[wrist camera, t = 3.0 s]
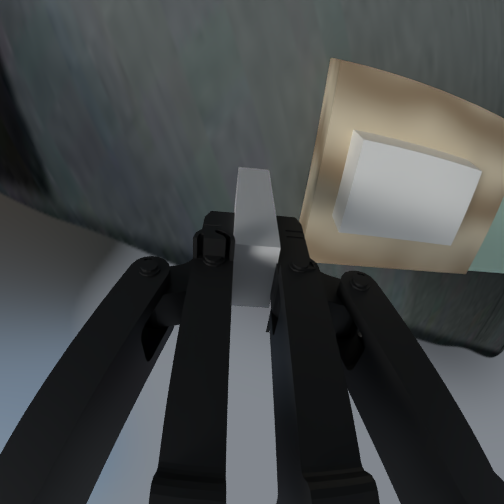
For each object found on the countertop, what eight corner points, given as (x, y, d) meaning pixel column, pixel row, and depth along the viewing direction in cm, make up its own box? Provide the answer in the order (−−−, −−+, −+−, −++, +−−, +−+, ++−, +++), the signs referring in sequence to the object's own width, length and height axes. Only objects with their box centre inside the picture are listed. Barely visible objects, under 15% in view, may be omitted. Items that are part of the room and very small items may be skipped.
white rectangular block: (332, 215, 21) (338, 232, 19) (353, 129, 17) (363, 139, 16) (439, 230, 21) (450, 245, 20) (466, 159, 18) (482, 171, 16)
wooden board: (330, 57, 17) (341, 59, 15) (507, 120, 18) (526, 131, 16) (294, 241, 25) (298, 261, 23) (454, 257, 26) (465, 274, 24)
